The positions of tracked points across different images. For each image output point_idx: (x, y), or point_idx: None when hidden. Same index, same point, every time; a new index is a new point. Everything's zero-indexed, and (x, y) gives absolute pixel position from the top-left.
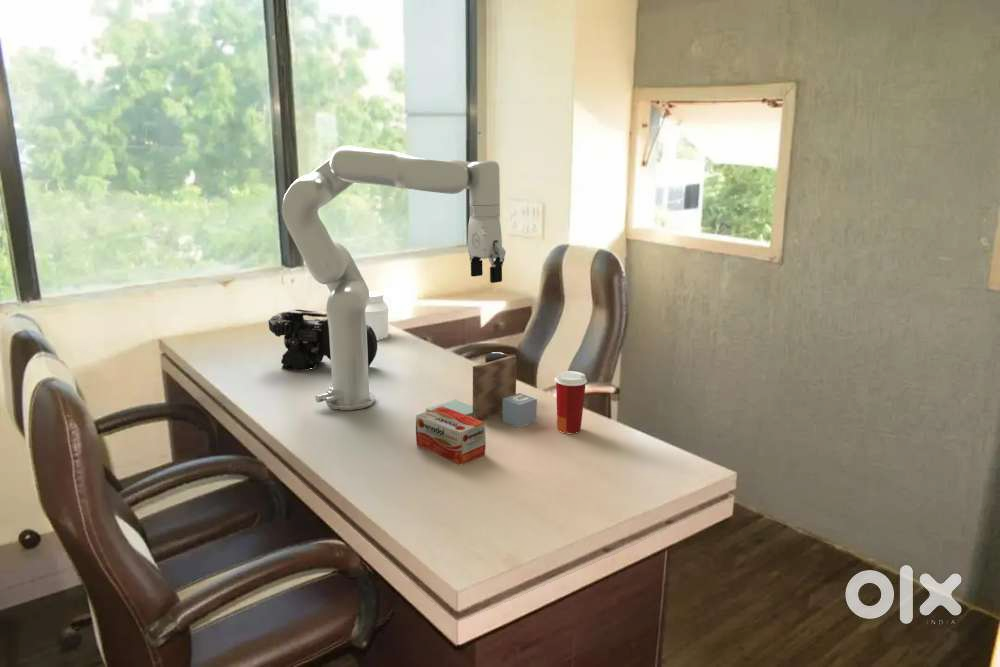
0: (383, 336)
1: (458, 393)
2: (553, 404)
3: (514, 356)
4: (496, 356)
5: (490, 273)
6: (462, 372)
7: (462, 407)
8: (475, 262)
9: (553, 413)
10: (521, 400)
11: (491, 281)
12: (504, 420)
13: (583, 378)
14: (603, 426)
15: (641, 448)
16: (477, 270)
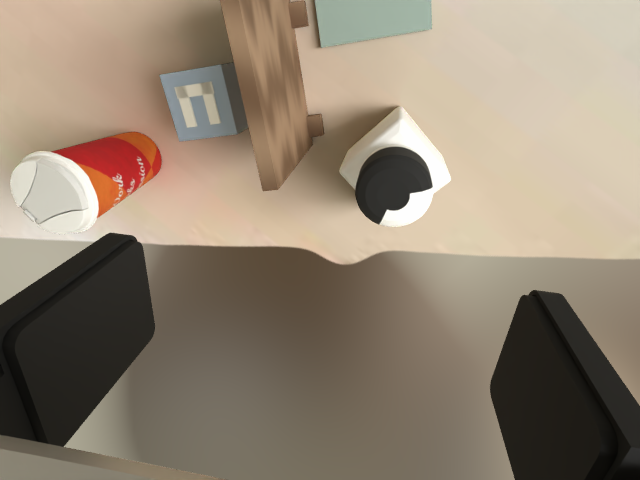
0: None
1: (482, 78)
2: (273, 225)
3: (264, 184)
4: (374, 181)
5: (54, 280)
6: (619, 197)
7: (364, 8)
8: (577, 471)
9: (229, 190)
10: (181, 97)
11: (109, 239)
12: None
13: (25, 211)
14: (131, 220)
15: None
16: (521, 386)
